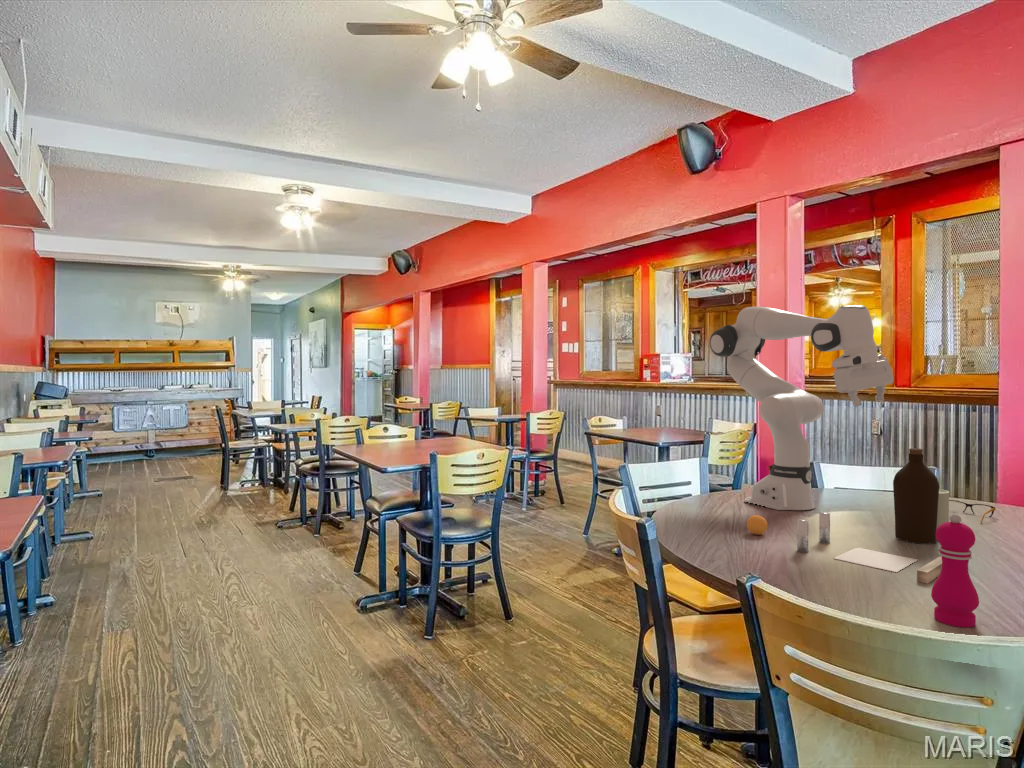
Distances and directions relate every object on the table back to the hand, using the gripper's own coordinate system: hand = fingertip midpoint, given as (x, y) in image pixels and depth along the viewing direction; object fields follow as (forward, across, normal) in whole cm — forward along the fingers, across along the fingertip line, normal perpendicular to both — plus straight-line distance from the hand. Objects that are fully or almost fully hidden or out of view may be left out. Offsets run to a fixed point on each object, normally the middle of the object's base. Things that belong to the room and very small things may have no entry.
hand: (868, 403), depth 183 cm
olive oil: (+38, +6, +12) cm, 40 cm away
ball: (+28, +41, -9) cm, 51 cm away
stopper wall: (+37, +28, +33) cm, 57 cm away
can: (+39, -8, +6) cm, 40 cm away
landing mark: (+35, +32, +20) cm, 52 cm away
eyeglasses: (+42, -33, -1) cm, 53 cm away
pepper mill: (+36, +53, +52) cm, 82 cm away
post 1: (+33, +43, +8) cm, 54 cm away
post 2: (+34, +31, +4) cm, 46 cm away
